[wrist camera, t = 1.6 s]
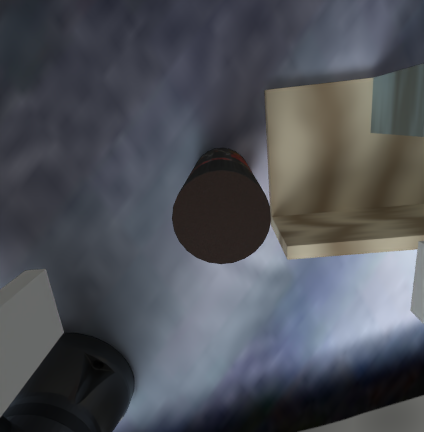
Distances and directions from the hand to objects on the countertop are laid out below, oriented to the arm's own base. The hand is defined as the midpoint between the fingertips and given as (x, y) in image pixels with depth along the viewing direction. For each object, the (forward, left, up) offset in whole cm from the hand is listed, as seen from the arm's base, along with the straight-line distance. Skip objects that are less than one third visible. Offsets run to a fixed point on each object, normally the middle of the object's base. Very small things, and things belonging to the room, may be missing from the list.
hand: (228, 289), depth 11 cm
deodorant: (0, 0, -23) cm, 23 cm away
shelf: (+17, +1, -23) cm, 28 cm away
